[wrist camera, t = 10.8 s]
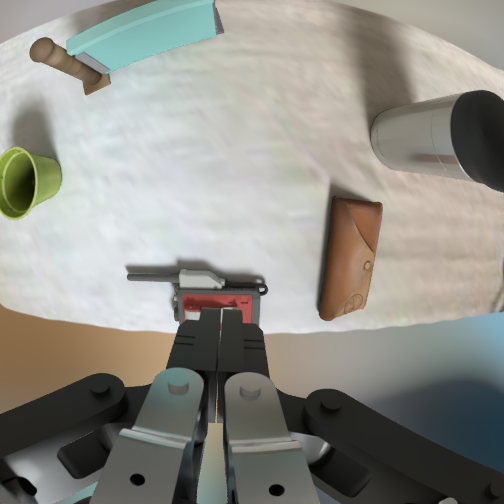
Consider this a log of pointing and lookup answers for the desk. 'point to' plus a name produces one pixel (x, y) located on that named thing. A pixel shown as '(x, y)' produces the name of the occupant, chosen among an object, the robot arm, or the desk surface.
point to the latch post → (217, 20)
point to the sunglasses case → (349, 256)
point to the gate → (143, 33)
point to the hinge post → (68, 64)
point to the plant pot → (26, 181)
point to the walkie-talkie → (209, 294)
